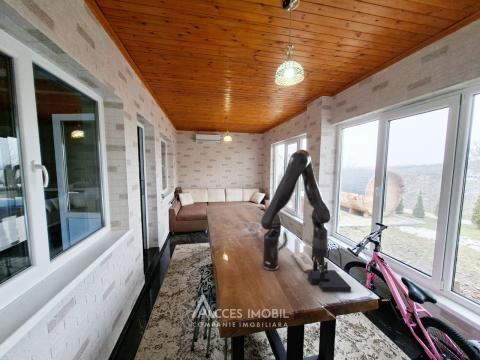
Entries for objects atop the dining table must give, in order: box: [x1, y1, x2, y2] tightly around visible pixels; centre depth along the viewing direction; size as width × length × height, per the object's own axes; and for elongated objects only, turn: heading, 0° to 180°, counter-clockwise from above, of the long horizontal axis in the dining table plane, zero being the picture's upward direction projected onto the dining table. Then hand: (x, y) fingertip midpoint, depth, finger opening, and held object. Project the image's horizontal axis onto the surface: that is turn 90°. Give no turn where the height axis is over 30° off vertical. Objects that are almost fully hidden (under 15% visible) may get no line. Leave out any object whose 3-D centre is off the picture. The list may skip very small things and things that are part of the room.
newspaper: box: [291, 251, 322, 273], centre depth 125 cm, size 23×12×2 cm, turn 4°
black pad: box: [307, 272, 329, 286], centre depth 103 cm, size 5×9×4 cm, turn 91°
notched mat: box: [310, 269, 352, 293], centre depth 103 cm, size 16×14×2 cm
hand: (318, 274), depth 103 cm, fingers open, 8 cm apart
